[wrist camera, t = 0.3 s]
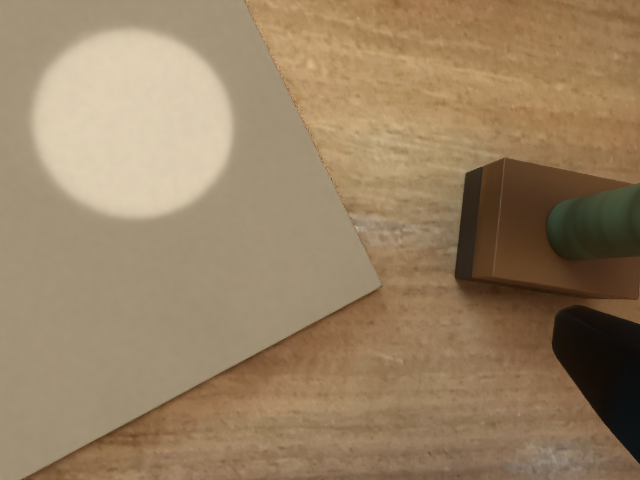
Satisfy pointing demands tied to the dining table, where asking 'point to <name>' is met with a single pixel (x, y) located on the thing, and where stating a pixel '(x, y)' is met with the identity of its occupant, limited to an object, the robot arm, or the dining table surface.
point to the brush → (550, 231)
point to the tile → (149, 214)
